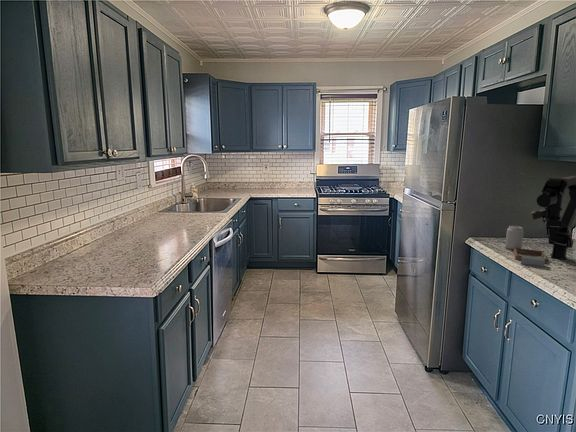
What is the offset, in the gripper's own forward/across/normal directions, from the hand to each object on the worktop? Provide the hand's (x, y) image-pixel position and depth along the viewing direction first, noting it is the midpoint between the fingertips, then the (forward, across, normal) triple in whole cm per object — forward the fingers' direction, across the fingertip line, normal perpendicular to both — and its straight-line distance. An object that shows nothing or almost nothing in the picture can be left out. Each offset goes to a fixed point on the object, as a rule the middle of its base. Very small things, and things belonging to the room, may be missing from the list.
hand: (549, 237), depth 174 cm
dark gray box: (+12, +9, -6) cm, 16 cm away
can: (+12, -17, -13) cm, 25 cm away
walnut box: (+12, -4, -6) cm, 14 cm away
